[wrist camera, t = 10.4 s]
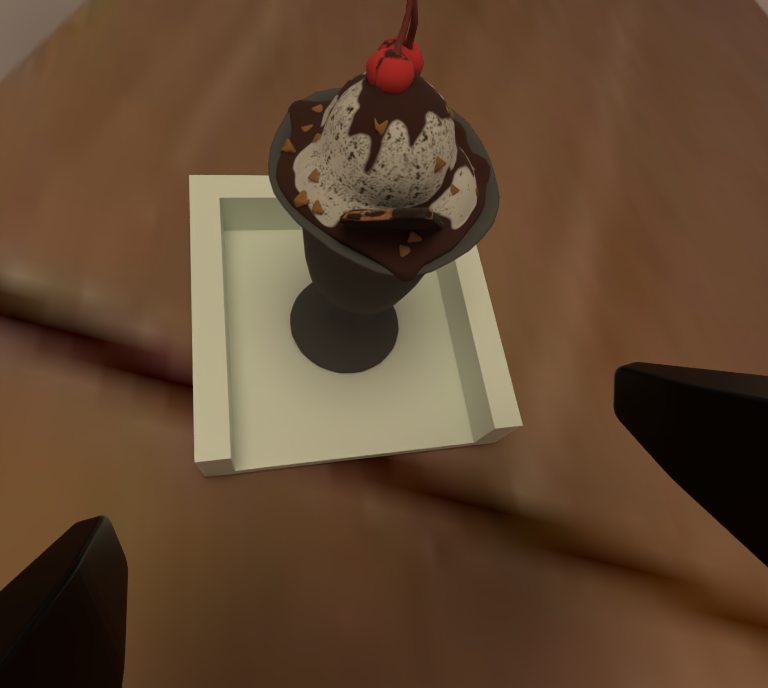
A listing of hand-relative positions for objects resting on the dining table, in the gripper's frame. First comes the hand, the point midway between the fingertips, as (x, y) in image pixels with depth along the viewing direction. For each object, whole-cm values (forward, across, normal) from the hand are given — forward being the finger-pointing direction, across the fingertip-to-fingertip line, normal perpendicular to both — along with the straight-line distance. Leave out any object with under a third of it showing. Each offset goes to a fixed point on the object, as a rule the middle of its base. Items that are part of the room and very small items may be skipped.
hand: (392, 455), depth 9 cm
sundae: (+15, -2, +3) cm, 16 cm away
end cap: (+16, -2, +3) cm, 16 cm away
